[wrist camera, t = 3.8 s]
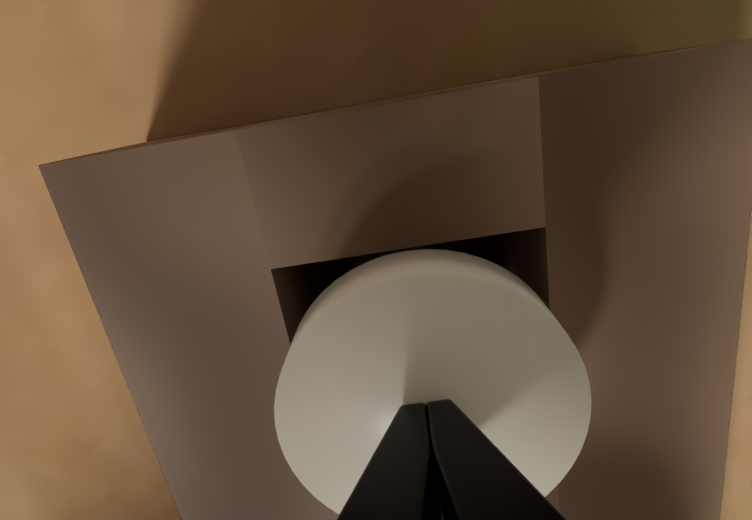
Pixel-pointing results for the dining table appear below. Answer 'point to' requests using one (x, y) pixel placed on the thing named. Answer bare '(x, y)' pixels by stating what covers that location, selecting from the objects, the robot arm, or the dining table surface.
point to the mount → (432, 226)
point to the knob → (428, 367)
